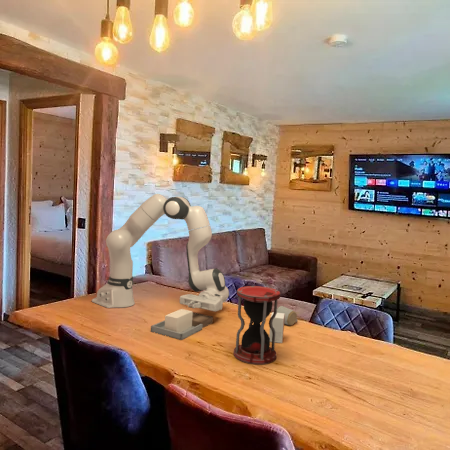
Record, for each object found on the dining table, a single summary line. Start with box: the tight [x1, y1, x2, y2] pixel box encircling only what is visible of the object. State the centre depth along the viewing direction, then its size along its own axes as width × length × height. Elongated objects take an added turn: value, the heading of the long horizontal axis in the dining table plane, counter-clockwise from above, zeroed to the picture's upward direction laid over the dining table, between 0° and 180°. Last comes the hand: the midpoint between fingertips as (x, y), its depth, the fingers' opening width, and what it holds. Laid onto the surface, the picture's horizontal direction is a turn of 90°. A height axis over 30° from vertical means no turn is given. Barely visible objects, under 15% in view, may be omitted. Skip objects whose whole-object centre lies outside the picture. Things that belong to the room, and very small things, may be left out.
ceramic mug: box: [277, 305, 298, 326], centre depth 198 cm, size 11×8×8 cm
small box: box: [268, 311, 285, 344], centre depth 175 cm, size 8×6×10 cm
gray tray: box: [150, 319, 203, 341], centre depth 180 cm, size 16×16×2 cm
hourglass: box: [233, 285, 281, 365], centre depth 157 cm, size 16×16×25 cm
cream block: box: [164, 308, 194, 333], centre depth 180 cm, size 6×7×12 cm
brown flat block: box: [192, 311, 214, 329], centre depth 191 cm, size 14×10×3 cm
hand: (190, 306), depth 188 cm, fingers closed
